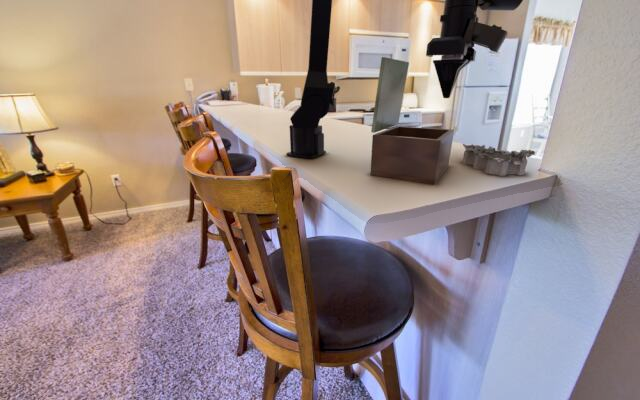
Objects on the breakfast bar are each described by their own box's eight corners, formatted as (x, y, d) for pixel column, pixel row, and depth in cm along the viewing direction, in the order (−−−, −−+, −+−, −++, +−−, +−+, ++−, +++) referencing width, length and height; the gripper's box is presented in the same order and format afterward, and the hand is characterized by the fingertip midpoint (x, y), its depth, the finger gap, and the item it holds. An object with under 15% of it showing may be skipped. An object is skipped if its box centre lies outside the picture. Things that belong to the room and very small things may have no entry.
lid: (409, 62, 52) (405, 62, 52) (385, 57, 42) (381, 57, 43) (398, 124, 57) (395, 123, 57) (374, 132, 47) (371, 132, 47)
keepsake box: (448, 166, 54) (454, 129, 52) (434, 184, 44) (440, 140, 42) (393, 159, 59) (396, 125, 57) (370, 174, 49) (372, 134, 47)
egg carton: (532, 176, 49) (539, 151, 47) (489, 177, 48) (494, 152, 47) (492, 160, 58) (497, 139, 57) (456, 161, 58) (460, 140, 56)
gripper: (510, -10, 43) (487, 101, 49) (510, 14, 58) (493, 97, 64) (431, 0, 49) (419, 99, 54) (450, 20, 64) (439, 96, 69)
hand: (446, 98), depth 60 cm, fingers closed
